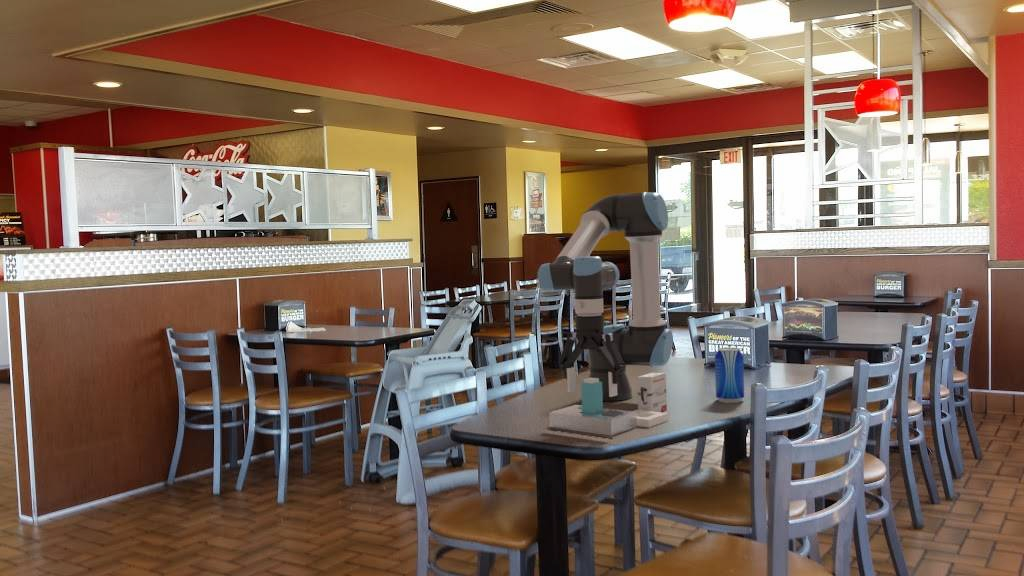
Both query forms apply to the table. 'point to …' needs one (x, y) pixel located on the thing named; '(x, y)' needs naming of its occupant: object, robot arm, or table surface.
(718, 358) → the beer can
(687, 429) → the table surface
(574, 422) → the port panel
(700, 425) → the table surface
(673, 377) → the table surface
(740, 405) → the table surface
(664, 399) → the ink box
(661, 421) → the holster
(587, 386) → the plug
